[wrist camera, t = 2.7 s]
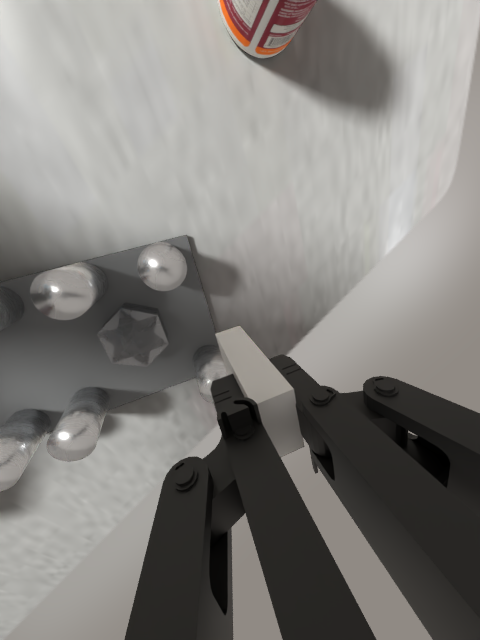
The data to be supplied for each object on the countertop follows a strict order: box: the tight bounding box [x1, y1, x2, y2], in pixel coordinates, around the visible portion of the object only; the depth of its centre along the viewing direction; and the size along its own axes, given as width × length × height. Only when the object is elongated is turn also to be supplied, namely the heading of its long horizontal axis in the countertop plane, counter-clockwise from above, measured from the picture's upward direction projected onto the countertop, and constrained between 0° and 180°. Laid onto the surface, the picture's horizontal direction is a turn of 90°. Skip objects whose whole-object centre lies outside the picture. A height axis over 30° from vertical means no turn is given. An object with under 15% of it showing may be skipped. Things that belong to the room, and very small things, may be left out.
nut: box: [97, 302, 169, 367], centre depth 20 cm, size 5×5×2 cm
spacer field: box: [0, 242, 228, 491], centre depth 18 cm, size 19×13×5 cm
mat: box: [0, 235, 220, 433], centre depth 20 cm, size 23×13×1 cm, turn 103°
